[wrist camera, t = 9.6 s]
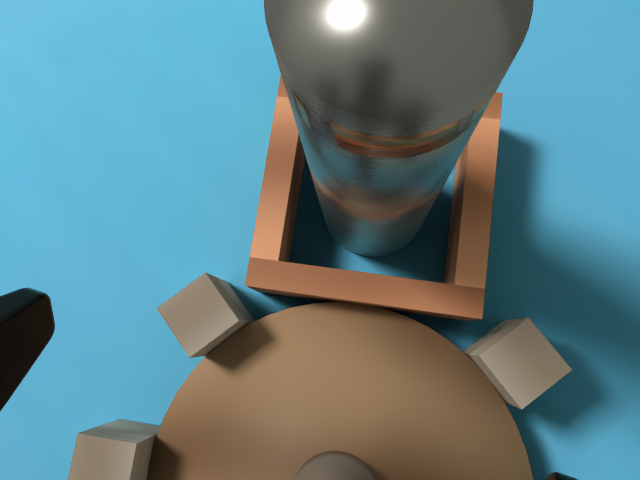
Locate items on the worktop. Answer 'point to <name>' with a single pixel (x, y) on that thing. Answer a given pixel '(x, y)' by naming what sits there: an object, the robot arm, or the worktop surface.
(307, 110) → the pin
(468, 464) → the sprocket
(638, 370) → the worktop surface
